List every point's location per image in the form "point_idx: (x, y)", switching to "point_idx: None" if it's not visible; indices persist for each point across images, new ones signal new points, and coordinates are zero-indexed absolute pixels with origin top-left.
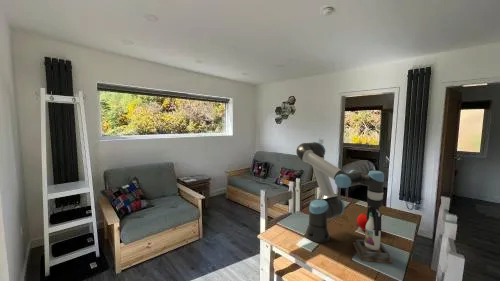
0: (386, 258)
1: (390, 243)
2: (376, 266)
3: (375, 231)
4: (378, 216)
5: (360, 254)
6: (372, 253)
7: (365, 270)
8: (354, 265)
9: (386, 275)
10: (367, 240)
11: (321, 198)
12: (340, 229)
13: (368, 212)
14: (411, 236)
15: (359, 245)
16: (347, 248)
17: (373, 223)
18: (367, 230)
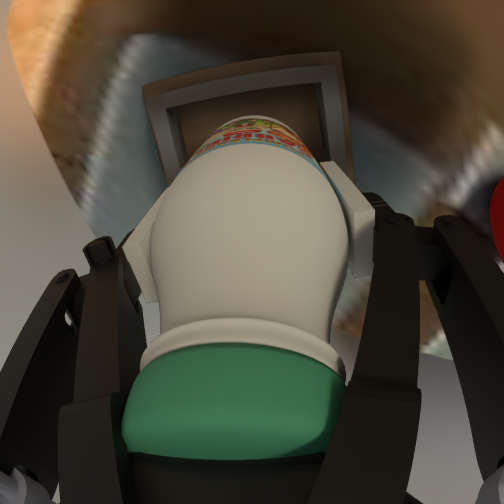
0: None
1: None
2: (122, 162)
3: (122, 253)
4: (19, 462)
5: (185, 81)
6: (161, 156)
7: (67, 109)
8: (84, 56)
9: (78, 197)
10: (208, 138)
11: None
12: (490, 39)
13: (484, 328)
14: (442, 357)
15: (237, 76)
16: (257, 9)
17: (157, 294)
18: (194, 157)
